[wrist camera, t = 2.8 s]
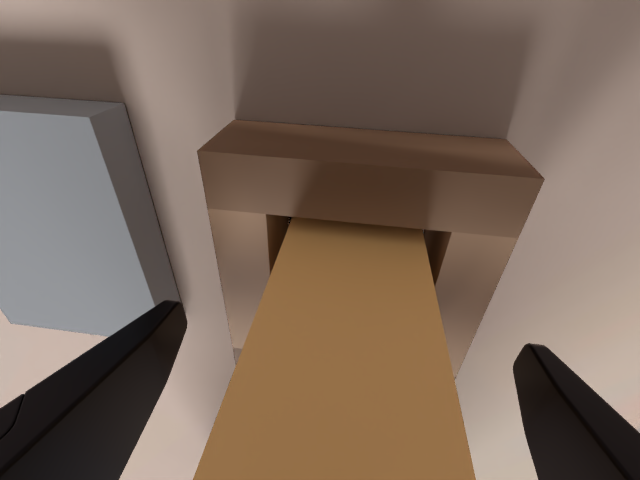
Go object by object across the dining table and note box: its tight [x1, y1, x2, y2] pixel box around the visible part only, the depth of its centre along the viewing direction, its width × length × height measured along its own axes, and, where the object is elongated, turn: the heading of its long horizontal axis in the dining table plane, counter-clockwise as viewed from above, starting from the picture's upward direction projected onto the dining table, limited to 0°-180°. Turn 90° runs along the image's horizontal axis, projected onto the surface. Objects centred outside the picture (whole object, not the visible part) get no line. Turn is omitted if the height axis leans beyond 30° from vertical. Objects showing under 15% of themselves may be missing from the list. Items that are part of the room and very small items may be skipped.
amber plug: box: [193, 217, 476, 480], centre depth 8 cm, size 4×4×9 cm
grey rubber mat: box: [0, 95, 181, 336], centre depth 12 cm, size 9×7×2 cm
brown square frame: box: [197, 120, 545, 380], centre depth 11 cm, size 8×8×2 cm
